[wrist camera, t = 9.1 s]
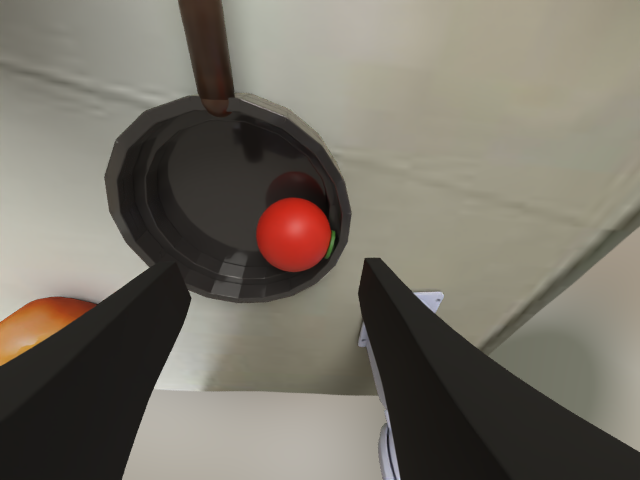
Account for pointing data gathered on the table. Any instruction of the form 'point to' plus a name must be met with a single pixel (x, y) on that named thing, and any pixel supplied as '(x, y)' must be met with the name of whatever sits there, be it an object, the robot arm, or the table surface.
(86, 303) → the fruit
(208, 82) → the pan handle
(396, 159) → the table surface
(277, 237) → the tomato
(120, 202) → the pan
